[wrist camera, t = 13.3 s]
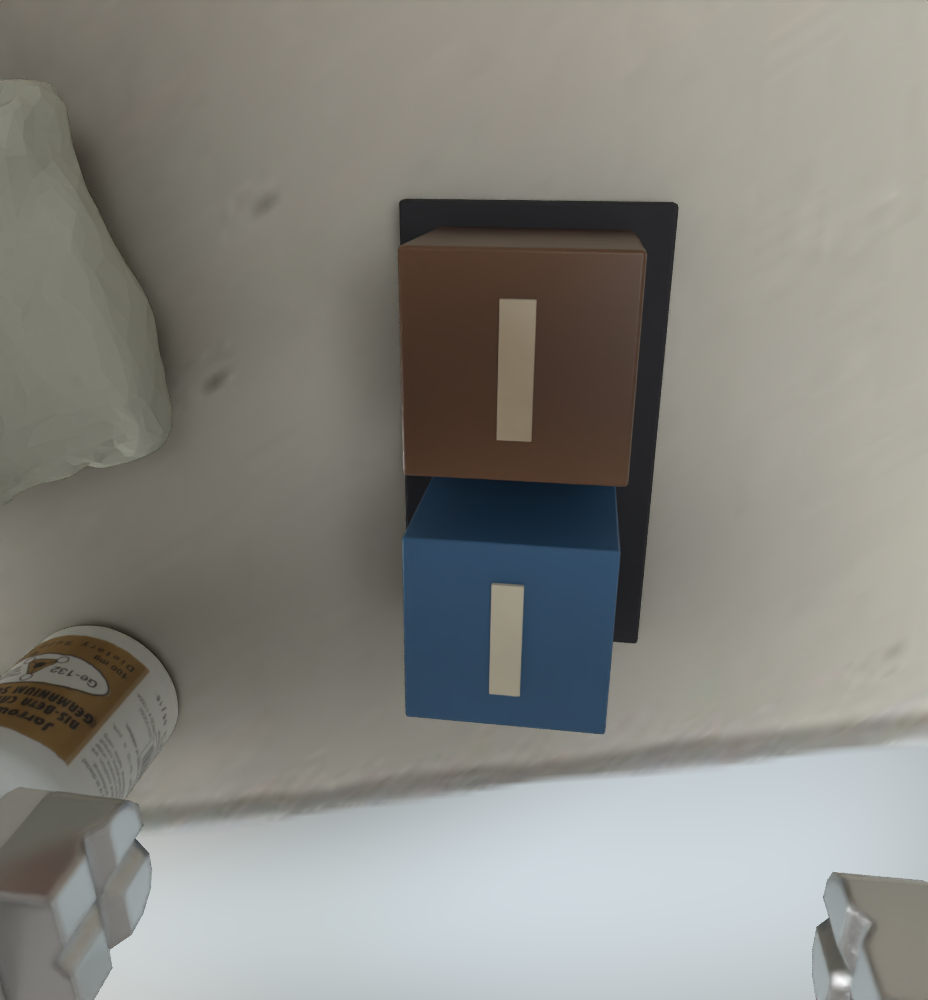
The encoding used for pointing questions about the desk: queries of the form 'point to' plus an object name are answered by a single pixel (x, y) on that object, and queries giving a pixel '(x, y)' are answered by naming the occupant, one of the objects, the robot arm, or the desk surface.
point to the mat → (658, 240)
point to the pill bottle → (84, 714)
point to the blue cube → (511, 603)
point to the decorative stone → (66, 312)
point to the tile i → (520, 353)
